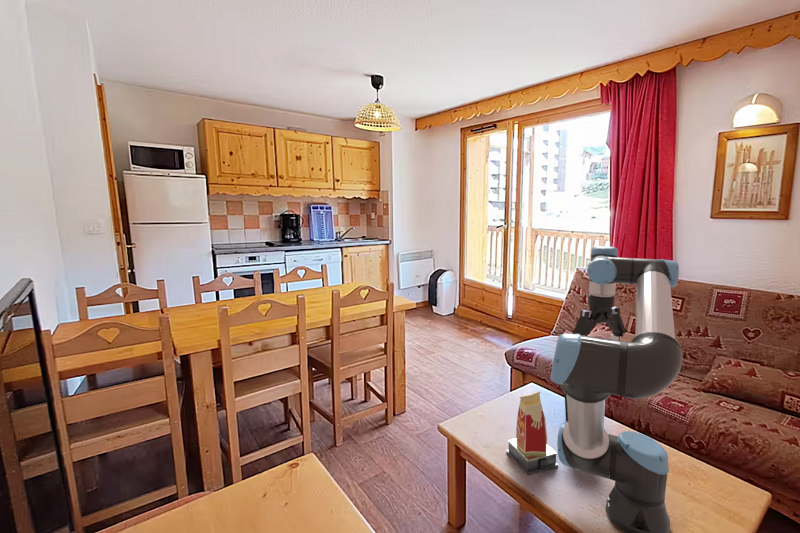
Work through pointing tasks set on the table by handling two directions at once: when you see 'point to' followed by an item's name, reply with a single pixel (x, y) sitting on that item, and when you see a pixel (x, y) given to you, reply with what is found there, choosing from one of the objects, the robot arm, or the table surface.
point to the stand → (532, 459)
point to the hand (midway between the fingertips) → (597, 356)
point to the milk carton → (531, 425)
